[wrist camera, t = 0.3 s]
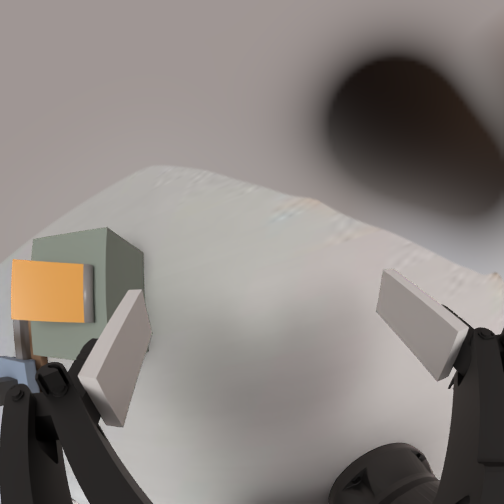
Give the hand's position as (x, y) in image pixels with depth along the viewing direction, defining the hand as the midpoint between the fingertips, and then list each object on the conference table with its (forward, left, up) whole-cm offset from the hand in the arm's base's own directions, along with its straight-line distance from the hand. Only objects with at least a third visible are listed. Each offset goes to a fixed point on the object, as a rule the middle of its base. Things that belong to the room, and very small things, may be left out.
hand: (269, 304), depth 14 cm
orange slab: (+2, +18, -5) cm, 19 cm away
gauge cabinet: (+2, +18, -17) cm, 25 cm away
